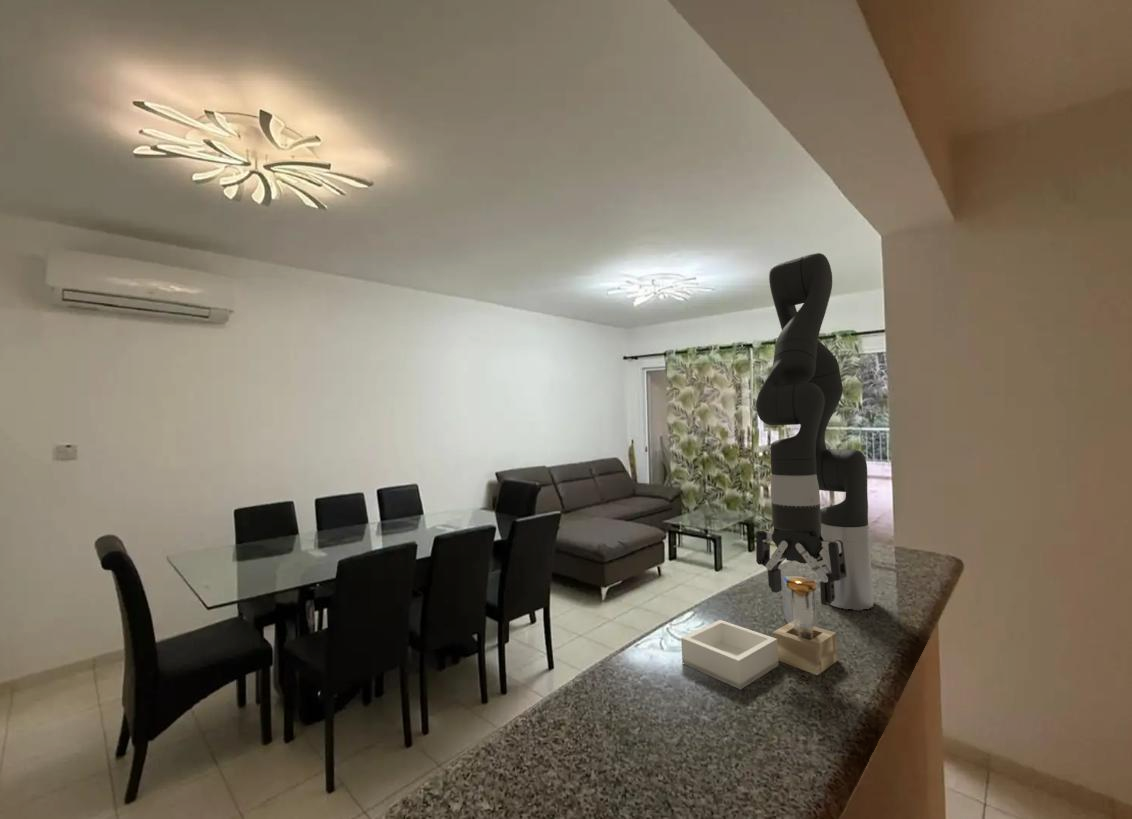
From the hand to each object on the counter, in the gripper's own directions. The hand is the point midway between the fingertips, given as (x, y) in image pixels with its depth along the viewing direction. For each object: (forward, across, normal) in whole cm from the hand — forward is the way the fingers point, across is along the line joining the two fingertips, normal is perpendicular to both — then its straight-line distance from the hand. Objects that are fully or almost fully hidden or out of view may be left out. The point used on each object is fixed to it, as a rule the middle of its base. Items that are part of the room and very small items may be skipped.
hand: (800, 597), depth 82 cm
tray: (+10, +7, +10) cm, 16 cm away
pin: (+10, 0, 0) cm, 10 cm away
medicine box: (+10, +7, -12) cm, 18 cm away
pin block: (+10, 0, 0) cm, 10 cm away
